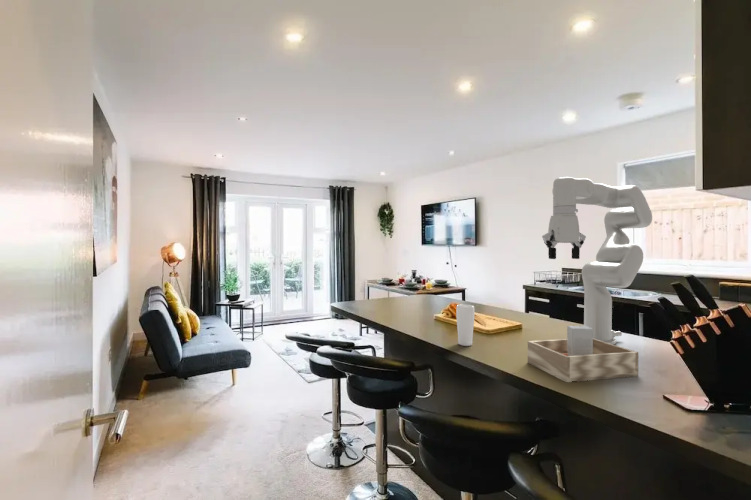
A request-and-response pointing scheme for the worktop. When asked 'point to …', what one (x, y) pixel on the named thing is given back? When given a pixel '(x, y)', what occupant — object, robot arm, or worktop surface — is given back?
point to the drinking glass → (465, 324)
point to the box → (583, 361)
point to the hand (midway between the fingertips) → (564, 258)
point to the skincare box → (579, 340)
